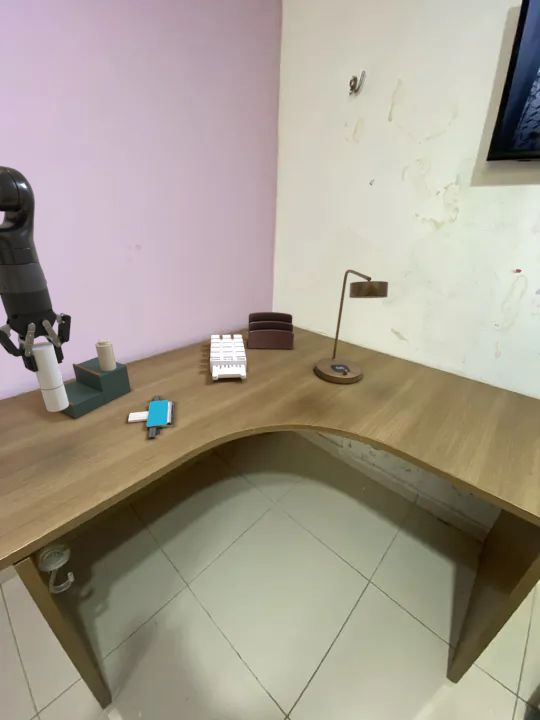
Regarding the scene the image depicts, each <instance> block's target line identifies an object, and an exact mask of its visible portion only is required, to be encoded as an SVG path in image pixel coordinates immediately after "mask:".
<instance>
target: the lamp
mask: <svg viewBox="0 0 540 720" xmlns="http://www.w3.org/2000/svg"><path fill="white" fill-rule="evenodd" d="M349 274H352V275H356V276H358V277H360V278H362V279H363V280H365V281H353V282H350V283H349V293H348V294H349V295H348V297H349V298H350V299H383V298H388V295H389V293H388V292H389V281H385V280H383V281H382V280H372V277H371V276H369V275H366V274H364V273H361V272H359V271H356V270H354V269H347V270H346V271H345V273H344V276H343V282H342V289H341V296H340V301H339V308H338V309H339V310H338V316H337V323H336V330H335V336H334V345H333V351H332V356H330V357H324V358H321V359H319V360H318V361H316V364H315V373H316V375H317V376H318V377H319V378H321V379H323V380H325V381H327V382H330V383H332V384H333V383H334V384H340V385H349V384H354V383H357V382H359V381H360V380H361V378H362V377H363V376H362V375H363V368H362V366H361V365H360V364H359V363H358V362H356V361H353V360H352V359H348V358H343V357H336V356H337V355H336V354H337V348H338V342H339V334H340V328H341V320H342V313H343V307H344V300H345V294H346V286H347V280H348V275H349Z"/></svg>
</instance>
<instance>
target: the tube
mask: <svg viewBox="0 0 540 720" xmlns="http://www.w3.org/2000/svg"><path fill="white" fill-rule="evenodd" d="M32 355H34V358H35V361H36V365H37V368H38V371H37V372H34V373H35V376H36V378H37V382H38V385H39V389H40V392H41V395H42V399H43V401H44V405H45V408H46V410H47V411H48V412H50V413H56V412H62V411H61V410H63V409H65V408H67V407H68V406H69V402H68V398H67V395H66V391H65V387H64V385H65V383H64V380H63V377H62V373H61V369H60V366H59V365H60V364H58V361H57V358H56V354H55V350H54V346H53V344H52V343H50V342H48V341H41V342H36V343H34V344H33V345H32Z"/></svg>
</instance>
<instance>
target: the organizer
mask: <svg viewBox="0 0 540 720" xmlns="http://www.w3.org/2000/svg"><path fill="white" fill-rule="evenodd" d="M231 335H232V334H222V338H221V337H220V336H221V335H220V334H211V335H210V337H211V338H210V353H209V355H210V356H209V357H210V358H209V367H210V368H209V369H210V371H209V372H210V374H212V380H213V381H216V380H219V379H224V378H225V379H226V378H227V379H228V378H240V379H241V380H242V379H243V380H245V379H247V362H248V361H247V354H246V350H245V345H244V340H243V335H242V334H233V338H232V336H231Z"/></svg>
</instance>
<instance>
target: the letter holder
mask: <svg viewBox="0 0 540 720" xmlns="http://www.w3.org/2000/svg"><path fill="white" fill-rule="evenodd" d="M293 318H294V317H293V315H292V314H290V313H287V312H286V313H285V312H277V311H261V312H257V311H256V312H250V313H249V314H248V325H247V326H248V330H247V332H248V334H247V348H248V349H259V350H260V349H261V350H262V349H265V350H266V349H267V350H293V349H294V343H295V333H294V324H293Z"/></svg>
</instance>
